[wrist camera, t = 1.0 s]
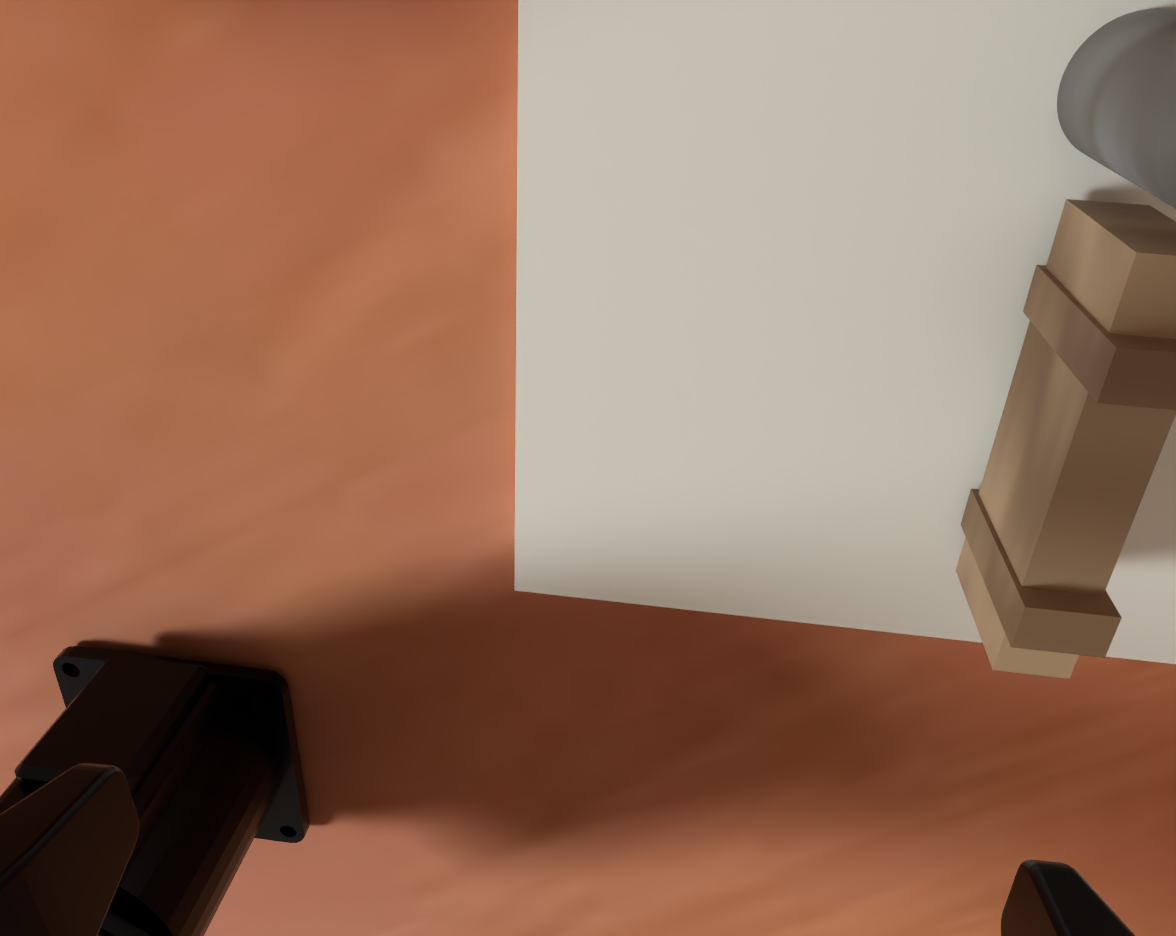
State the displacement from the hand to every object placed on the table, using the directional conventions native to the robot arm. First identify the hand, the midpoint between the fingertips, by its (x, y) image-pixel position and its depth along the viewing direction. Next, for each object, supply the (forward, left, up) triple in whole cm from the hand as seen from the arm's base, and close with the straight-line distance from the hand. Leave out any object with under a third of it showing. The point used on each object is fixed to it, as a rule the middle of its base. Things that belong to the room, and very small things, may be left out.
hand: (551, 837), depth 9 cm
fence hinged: (0, -8, -11) cm, 14 cm away
